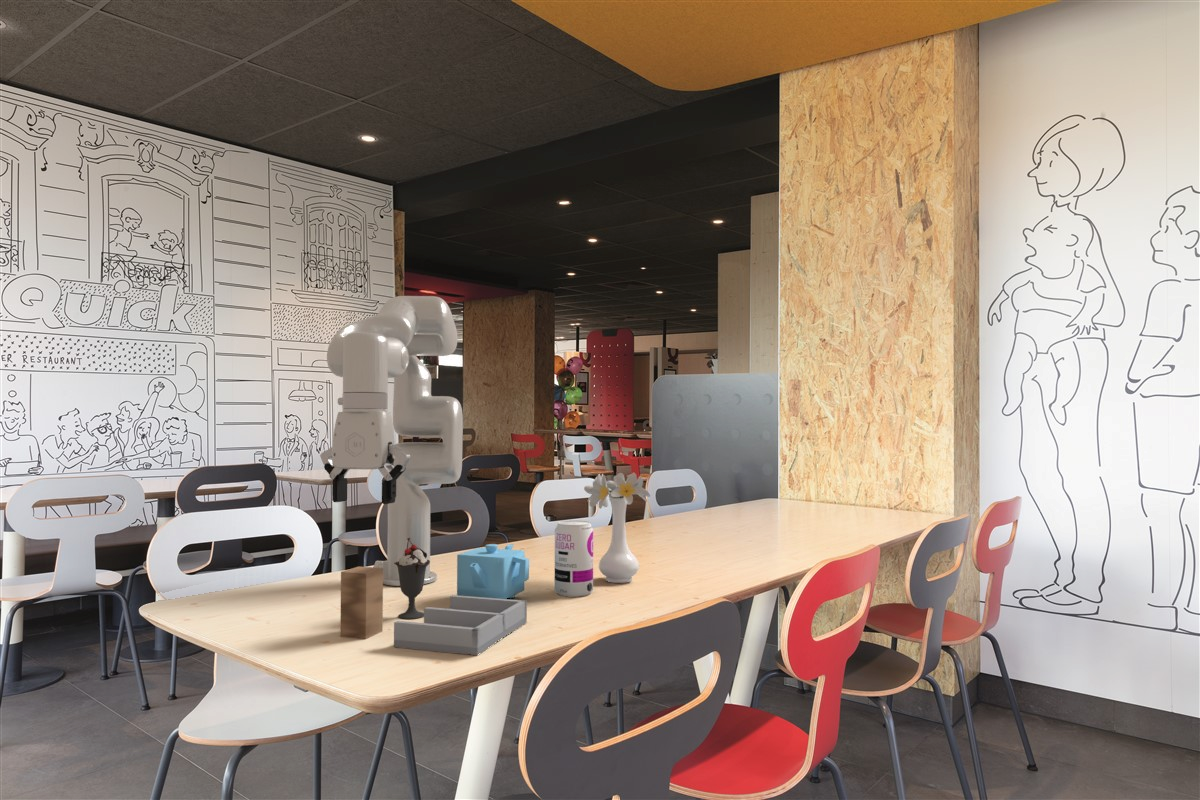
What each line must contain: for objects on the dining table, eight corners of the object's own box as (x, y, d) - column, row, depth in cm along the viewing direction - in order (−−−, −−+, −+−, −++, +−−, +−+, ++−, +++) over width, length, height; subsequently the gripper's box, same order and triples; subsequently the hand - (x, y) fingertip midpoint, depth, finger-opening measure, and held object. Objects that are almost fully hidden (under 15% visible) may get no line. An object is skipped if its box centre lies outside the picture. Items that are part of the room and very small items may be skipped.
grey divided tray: (393, 646, 124) (394, 622, 124) (452, 616, 143) (452, 595, 143) (477, 655, 119) (477, 629, 120) (526, 622, 139) (526, 600, 139)
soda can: (594, 589, 166) (595, 520, 166) (590, 598, 158) (590, 525, 158) (558, 588, 167) (558, 519, 167) (551, 597, 159) (552, 525, 159)
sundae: (398, 622, 139) (398, 539, 139) (390, 614, 145) (390, 534, 145) (433, 618, 142) (434, 537, 142) (424, 610, 148) (425, 532, 148)
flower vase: (608, 570, 186) (608, 468, 187) (664, 582, 173) (664, 472, 173) (568, 578, 178) (568, 470, 178) (623, 591, 164) (623, 475, 165)
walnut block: (340, 636, 130) (341, 571, 130) (357, 628, 134) (358, 566, 135) (365, 639, 128) (366, 573, 129) (382, 631, 133) (383, 568, 133)
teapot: (436, 605, 151) (437, 548, 151) (481, 587, 168) (481, 535, 168) (508, 613, 146) (508, 553, 146) (546, 592, 163) (547, 539, 163)
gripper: (309, 403, 131) (307, 503, 131) (397, 403, 126) (396, 506, 126) (336, 404, 139) (334, 498, 138) (420, 404, 134) (419, 501, 133)
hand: (364, 502), depth 132 cm, fingers open, 9 cm apart
